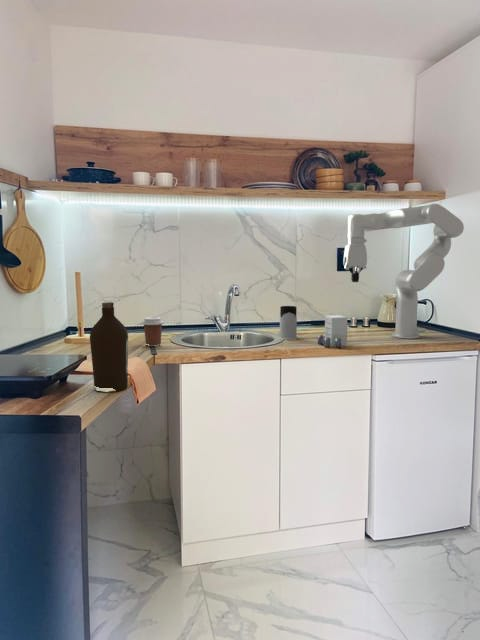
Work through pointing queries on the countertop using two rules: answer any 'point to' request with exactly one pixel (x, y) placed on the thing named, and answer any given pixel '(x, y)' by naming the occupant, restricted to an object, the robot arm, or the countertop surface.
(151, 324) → the coffee cup
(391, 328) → the countertop surface
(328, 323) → the supplement box
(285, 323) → the glass holder
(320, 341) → the stub cradle
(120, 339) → the olive oil
